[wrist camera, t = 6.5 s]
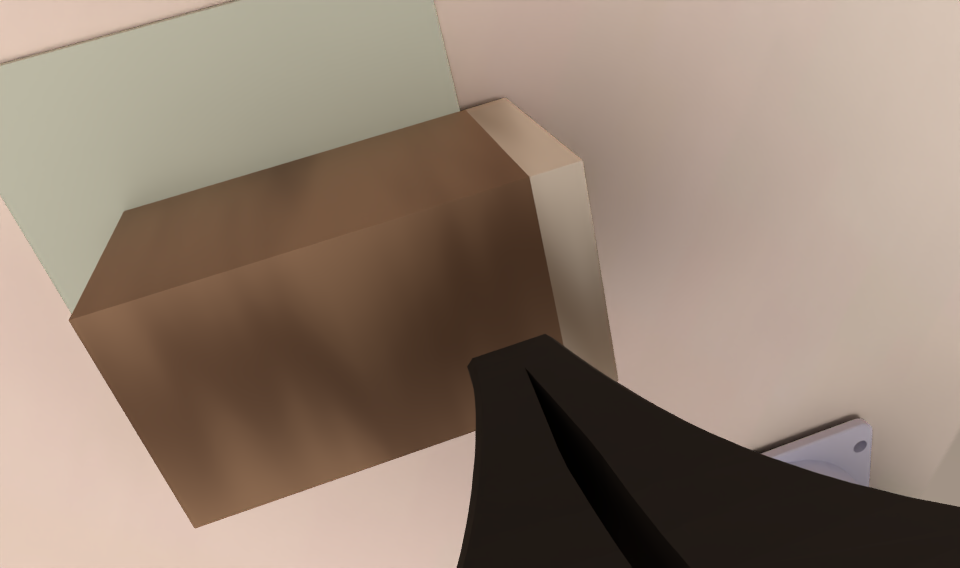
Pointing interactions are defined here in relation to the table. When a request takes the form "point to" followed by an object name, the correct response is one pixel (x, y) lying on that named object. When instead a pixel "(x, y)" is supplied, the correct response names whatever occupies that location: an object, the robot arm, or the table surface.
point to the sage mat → (202, 109)
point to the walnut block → (340, 303)
